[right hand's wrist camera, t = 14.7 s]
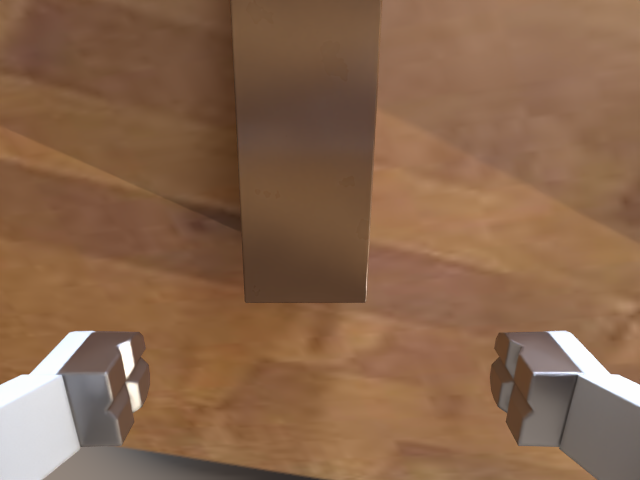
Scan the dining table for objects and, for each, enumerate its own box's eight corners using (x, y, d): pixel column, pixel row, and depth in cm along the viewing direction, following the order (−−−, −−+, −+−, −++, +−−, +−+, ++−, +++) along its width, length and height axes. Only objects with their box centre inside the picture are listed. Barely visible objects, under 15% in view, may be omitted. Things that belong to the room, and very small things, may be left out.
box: (350, 242, 29) (366, 303, 21) (262, 242, 29) (244, 303, 21) (369, -276, 21) (408, -505, 13) (245, -281, 21) (204, -515, 12)
